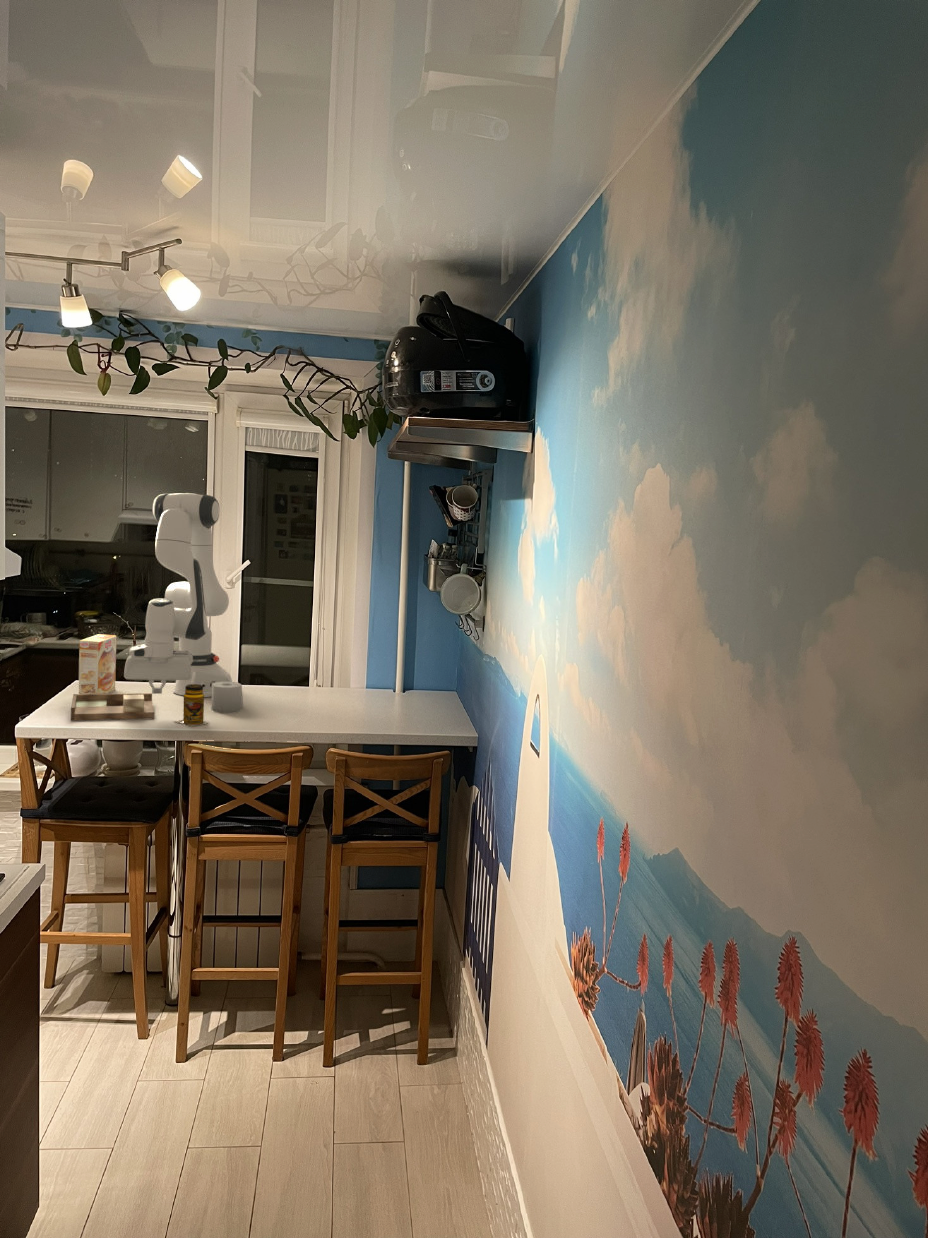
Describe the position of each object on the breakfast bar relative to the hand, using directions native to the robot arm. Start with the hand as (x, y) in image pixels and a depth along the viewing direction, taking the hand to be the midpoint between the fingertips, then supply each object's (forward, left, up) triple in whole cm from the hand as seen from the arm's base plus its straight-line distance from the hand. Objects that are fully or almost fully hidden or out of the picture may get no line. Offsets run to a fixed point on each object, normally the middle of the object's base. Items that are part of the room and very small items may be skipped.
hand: (156, 693), depth 289 cm
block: (+7, -1, -5) cm, 9 cm away
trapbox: (+13, -5, -7) cm, 16 cm away
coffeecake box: (+18, -32, -7) cm, 38 cm away
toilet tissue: (-23, -7, -7) cm, 25 cm away
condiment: (-10, +10, -8) cm, 16 cm away
